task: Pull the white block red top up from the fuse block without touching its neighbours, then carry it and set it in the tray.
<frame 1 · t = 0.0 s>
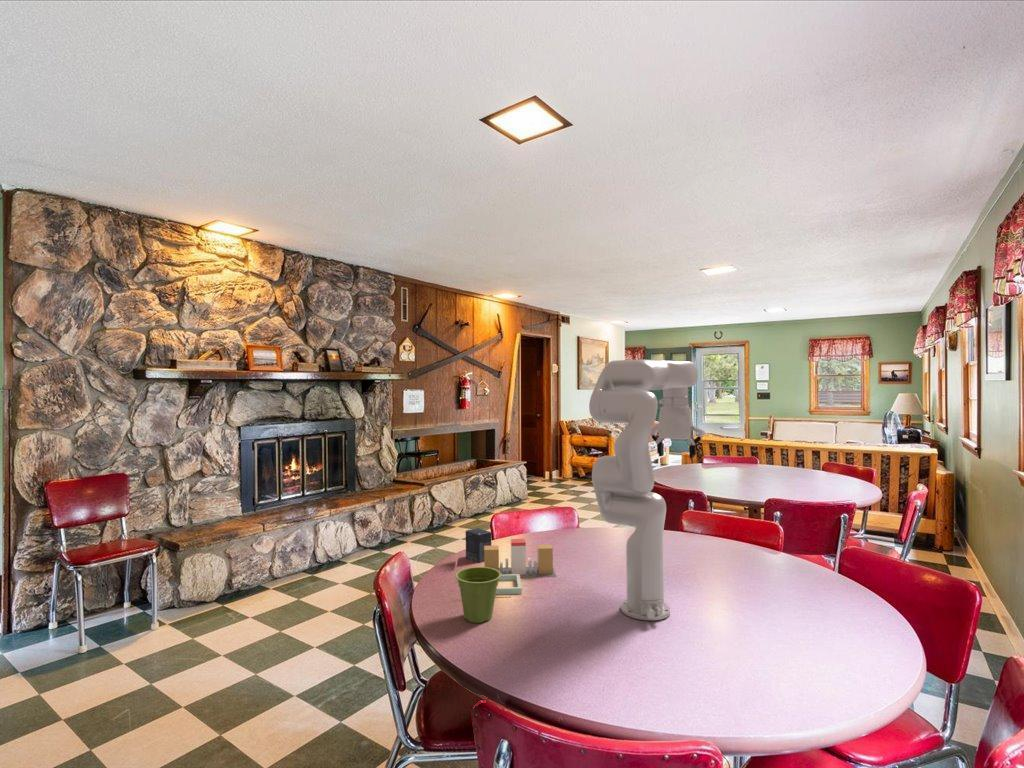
hand: (676, 456, 169), 37 cm above the table, tool pointing down, fingers open, 9 cm apart
white block red top: (518, 572, 170), point 1 cm above the table, touching fuse block
tray: (500, 589, 157), on the table
plant pot: (478, 618, 138), on the table
box: (478, 562, 184), on the table
fuse block: (518, 575, 170), on the table
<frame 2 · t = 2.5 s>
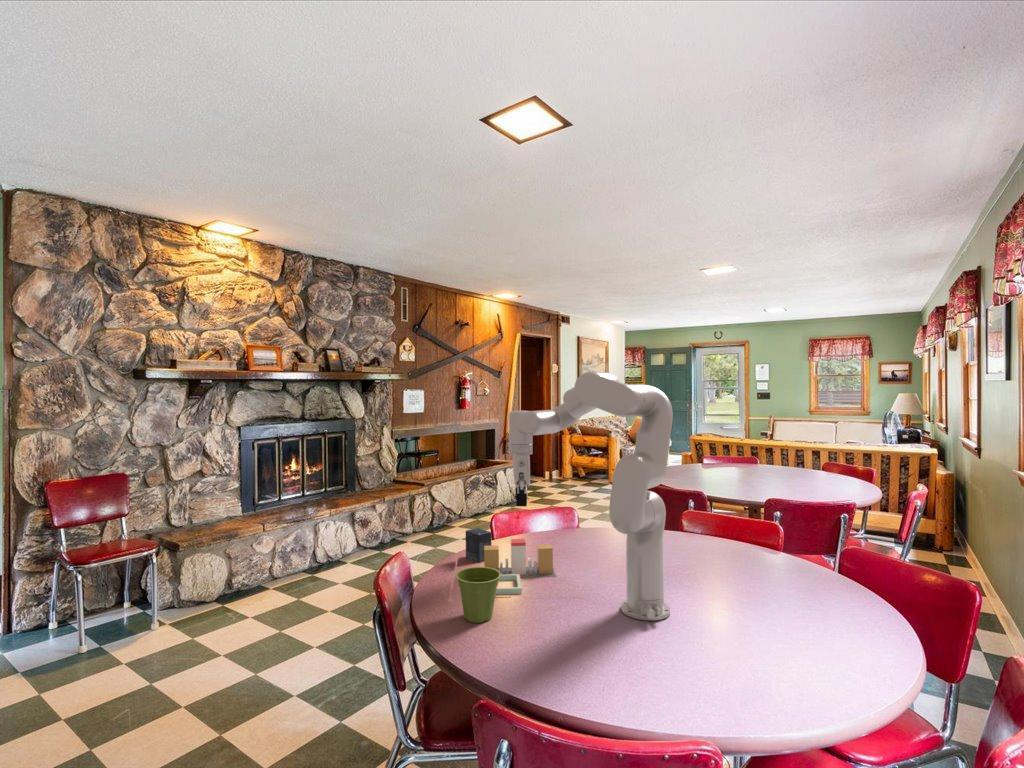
hand: (520, 502, 170), 23 cm above the table, tool pointing down, fingers open, 9 cm apart
nothing on the table moved.
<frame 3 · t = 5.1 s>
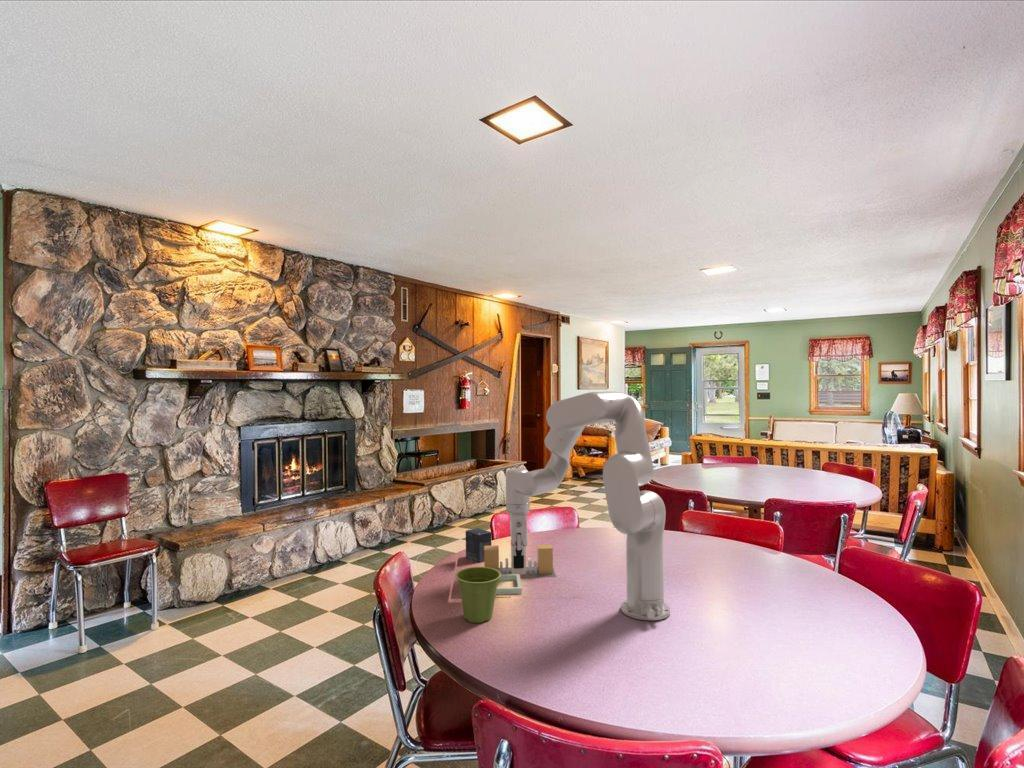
hand: (518, 564, 170), 3 cm above the table, tool pointing down, fingers closed on white block red top, 4 cm apart
white block red top: (518, 572, 170), point 1 cm above the table, touching fuse block, gripper
everything else where it was.
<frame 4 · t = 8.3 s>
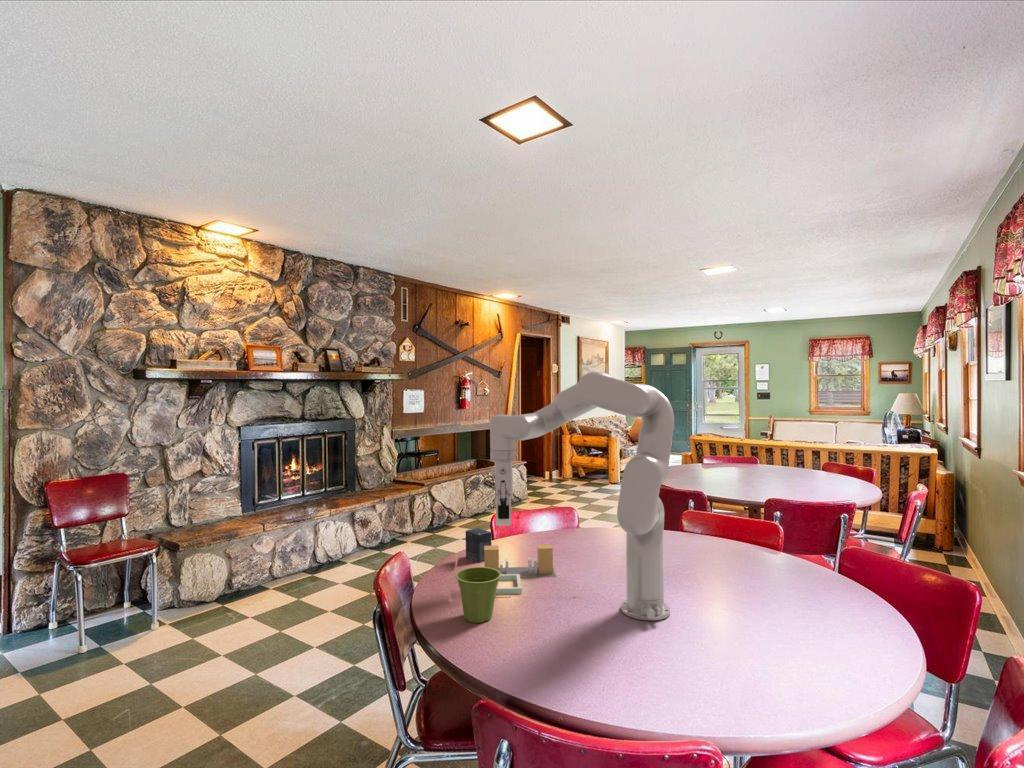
hand: (503, 515, 160), 21 cm above the table, tool pointing down, fingers closed on white block red top, 4 cm apart
white block red top: (503, 523, 160), point 19 cm above the table, touching gripper
everything else where it was.
when the fingers open (4 cm above the table, at t = 11.5 s): white block red top drops 1 cm, resting on tray.
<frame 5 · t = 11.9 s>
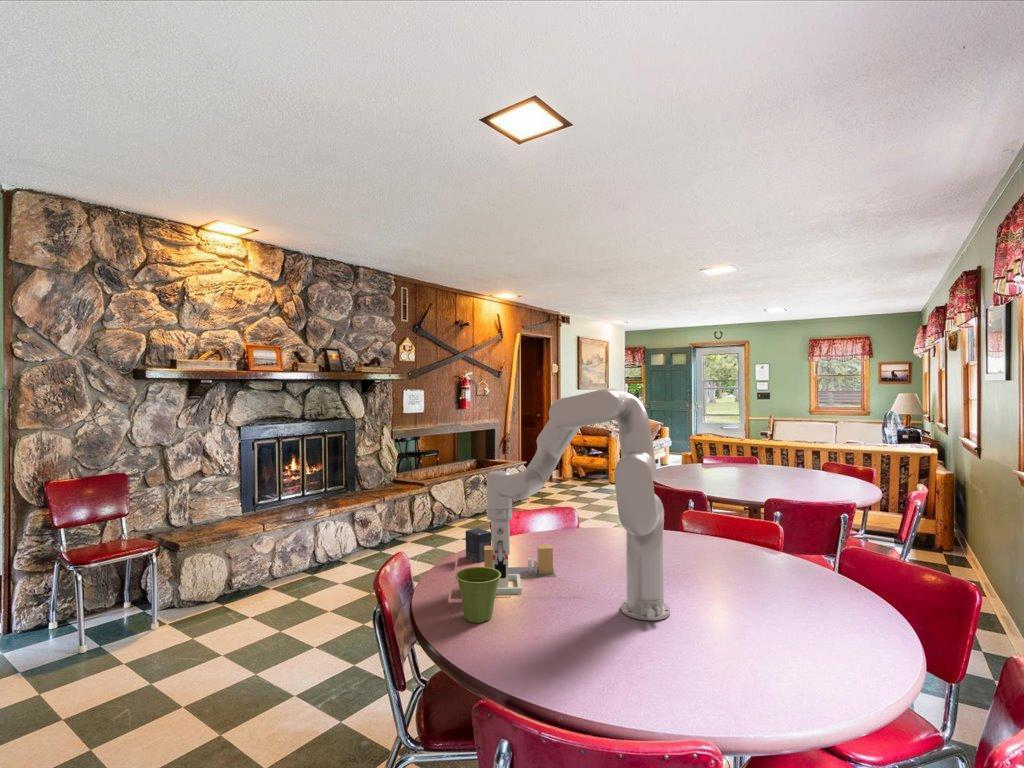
hand: (500, 572, 158), 5 cm above the table, tool pointing down, fingers open, 8 cm apart
white block red top: (500, 587, 157), point 1 cm above the table, touching tray
everything else where it was.
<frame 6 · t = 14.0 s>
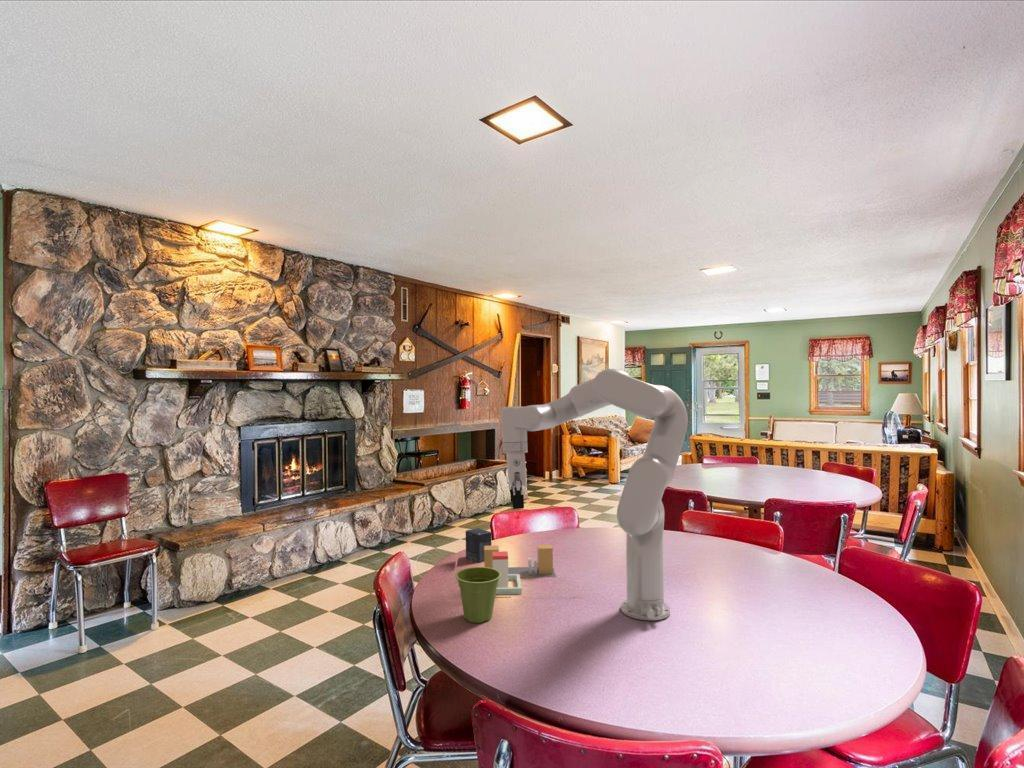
hand: (517, 505, 159), 25 cm above the table, tool pointing down, fingers open, 9 cm apart
nothing on the table moved.
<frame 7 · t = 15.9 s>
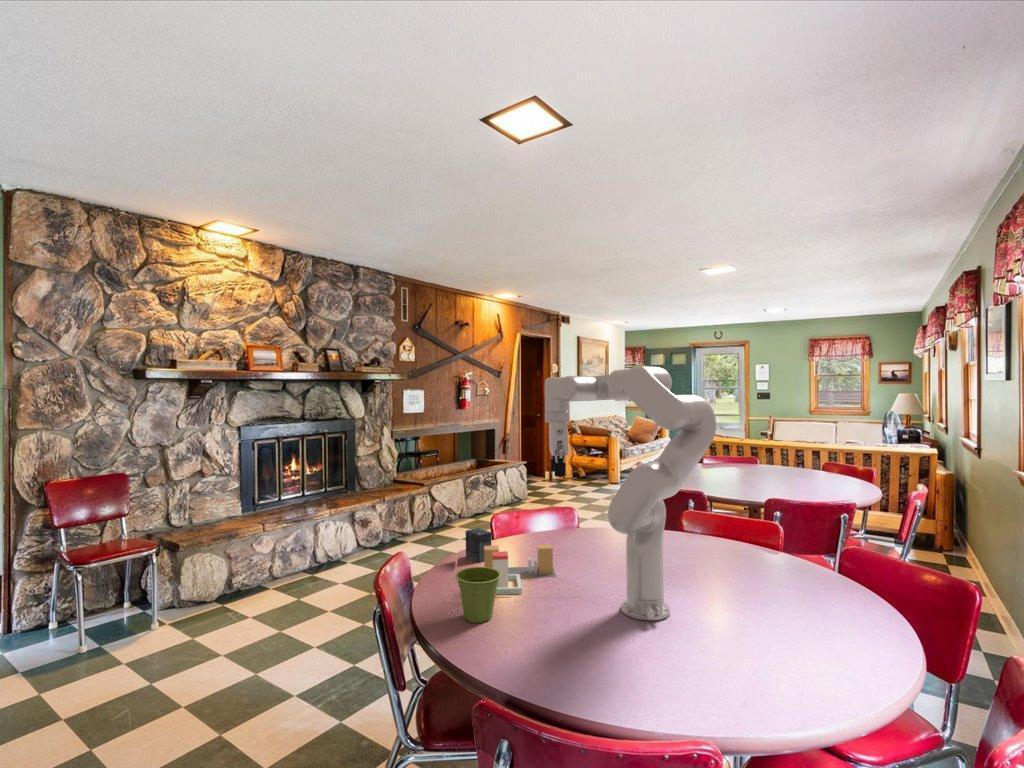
hand: (558, 473, 163), 33 cm above the table, tool pointing down, fingers open, 9 cm apart
nothing on the table moved.
at the end: white block red top inside the target area on the tray (0.0 cm from its centre), point 0.6 cm above the tray's base; white block red top tilted 0°; the gripper is holding nothing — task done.
